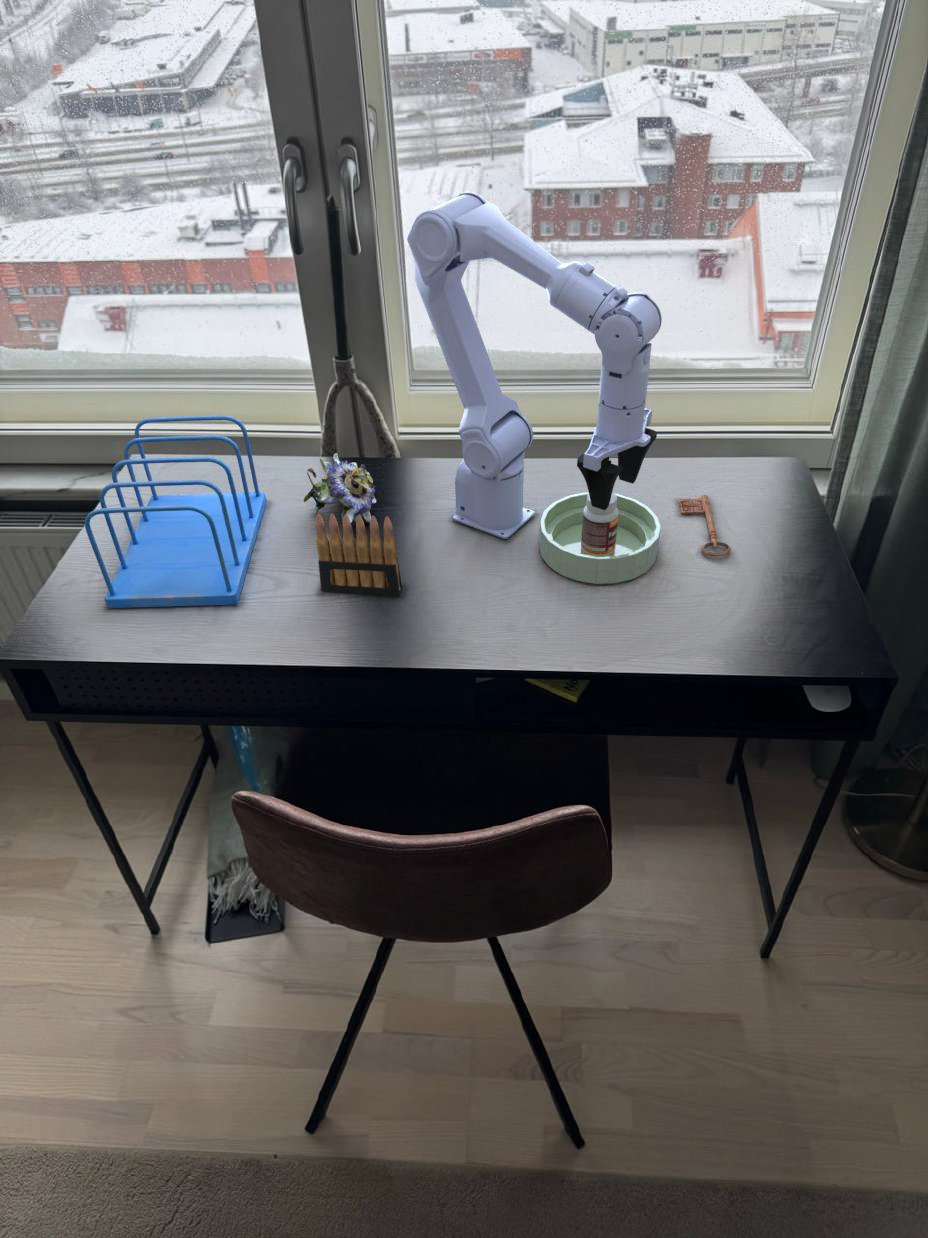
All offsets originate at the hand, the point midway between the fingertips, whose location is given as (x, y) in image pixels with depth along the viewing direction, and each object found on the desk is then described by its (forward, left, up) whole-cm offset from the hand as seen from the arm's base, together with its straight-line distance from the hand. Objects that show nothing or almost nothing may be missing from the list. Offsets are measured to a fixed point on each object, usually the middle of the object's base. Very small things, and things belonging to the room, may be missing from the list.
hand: (613, 493), depth 123 cm
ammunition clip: (-24, -25, -10) cm, 36 cm away
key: (+8, +13, -10) cm, 19 cm away
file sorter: (-49, -31, -10) cm, 59 cm away
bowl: (-2, 0, -10) cm, 10 cm away
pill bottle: (-2, 0, -10) cm, 10 cm away
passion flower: (-38, -13, -10) cm, 41 cm away
